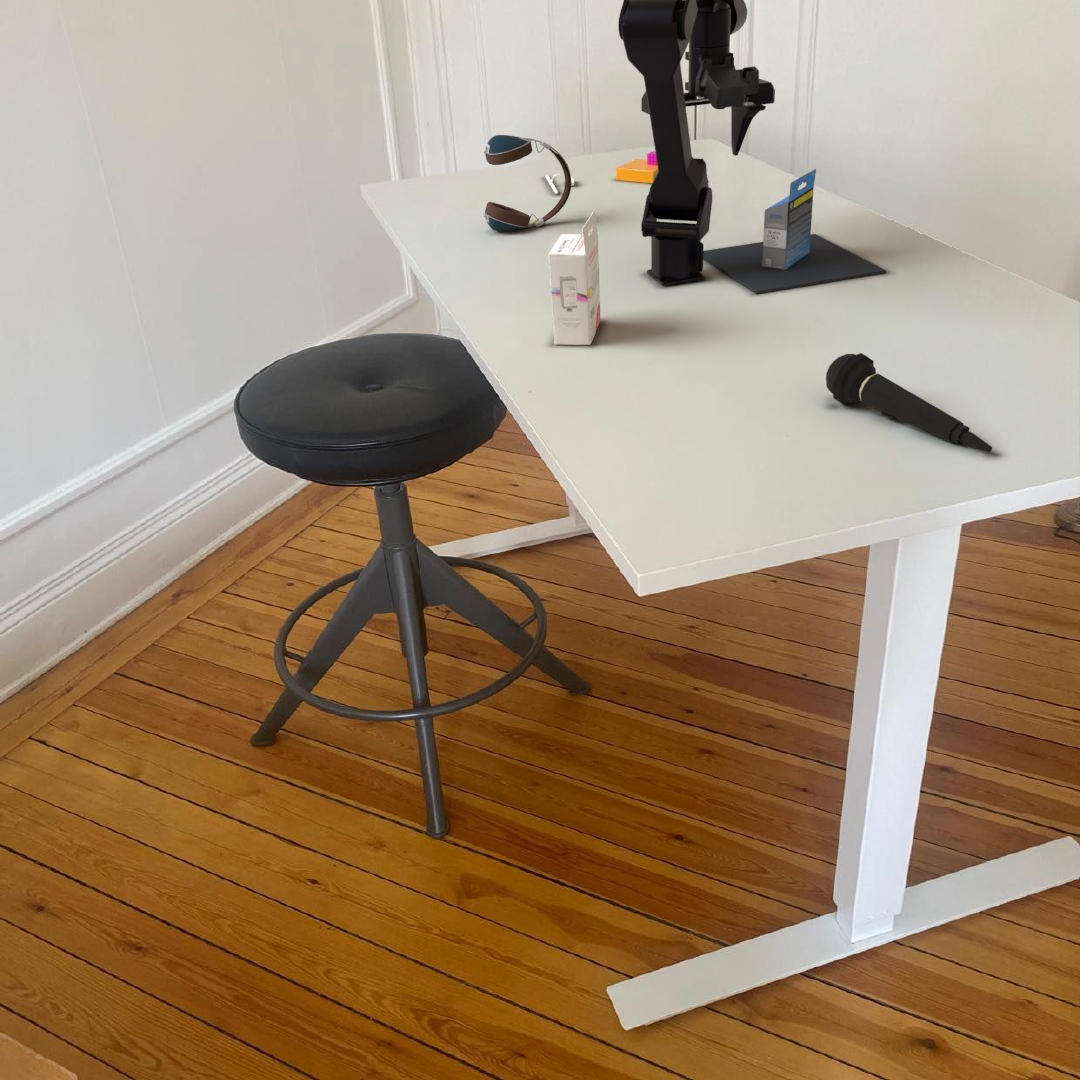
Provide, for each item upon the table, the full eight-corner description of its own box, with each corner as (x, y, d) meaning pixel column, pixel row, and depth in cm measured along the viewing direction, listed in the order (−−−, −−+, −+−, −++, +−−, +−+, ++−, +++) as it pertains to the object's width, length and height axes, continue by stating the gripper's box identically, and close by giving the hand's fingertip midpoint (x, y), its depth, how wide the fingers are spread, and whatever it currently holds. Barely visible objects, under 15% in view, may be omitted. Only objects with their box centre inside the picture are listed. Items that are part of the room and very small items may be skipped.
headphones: (446, 237, 179) (574, 232, 185) (445, 139, 172) (579, 137, 178) (437, 228, 184) (562, 223, 191) (436, 132, 177) (566, 130, 183)
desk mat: (756, 294, 152) (756, 291, 151) (696, 254, 168) (696, 251, 168) (885, 273, 156) (886, 270, 156) (814, 236, 173) (815, 233, 172)
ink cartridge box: (564, 321, 147) (559, 209, 139) (601, 322, 146) (598, 209, 138) (551, 345, 140) (545, 228, 132) (590, 346, 139) (586, 228, 131)
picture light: (544, 177, 214) (544, 166, 213) (567, 175, 215) (566, 164, 214) (555, 195, 202) (554, 183, 201) (578, 193, 203) (578, 181, 202)
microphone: (991, 474, 111) (837, 393, 124) (1016, 422, 109) (857, 344, 121) (963, 477, 108) (807, 393, 120) (989, 423, 105) (827, 343, 118)
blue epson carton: (786, 250, 166) (791, 165, 160) (810, 253, 164) (817, 168, 158) (760, 267, 160) (765, 180, 153) (785, 271, 158) (791, 182, 151)
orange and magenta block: (653, 183, 206) (653, 160, 204) (615, 180, 210) (615, 156, 208) (673, 173, 211) (673, 150, 209) (636, 170, 215) (636, 147, 213)
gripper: (670, 58, 148) (669, 178, 156) (796, 44, 152) (789, 162, 160) (639, 48, 157) (640, 162, 165) (759, 36, 161) (754, 147, 170)
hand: (706, 158), depth 165 cm, fingers open, 9 cm apart
